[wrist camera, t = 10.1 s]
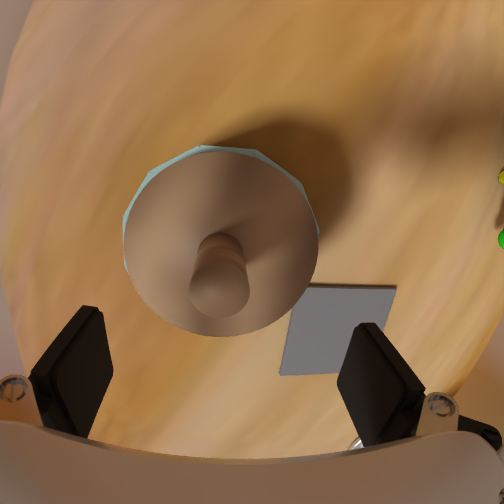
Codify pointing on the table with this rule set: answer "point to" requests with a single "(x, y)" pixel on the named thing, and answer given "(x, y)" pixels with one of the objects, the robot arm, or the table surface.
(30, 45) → the table surface
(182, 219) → the lid
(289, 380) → the table surface
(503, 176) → the toy sword
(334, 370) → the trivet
